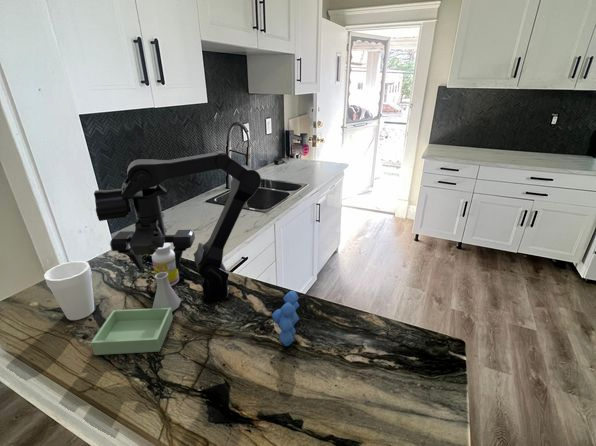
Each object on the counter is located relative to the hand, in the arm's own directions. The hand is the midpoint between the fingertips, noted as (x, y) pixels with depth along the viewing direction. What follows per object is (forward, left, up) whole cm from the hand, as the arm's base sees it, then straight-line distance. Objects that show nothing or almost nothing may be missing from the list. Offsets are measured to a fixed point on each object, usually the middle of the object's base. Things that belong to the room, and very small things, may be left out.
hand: (159, 269), depth 82 cm
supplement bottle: (+3, -12, -12) cm, 17 cm away
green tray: (+4, +11, -12) cm, 17 cm away
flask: (0, 0, -12) cm, 12 cm away
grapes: (-32, +14, -12) cm, 37 cm away
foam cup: (+22, +1, -12) cm, 25 cm away
